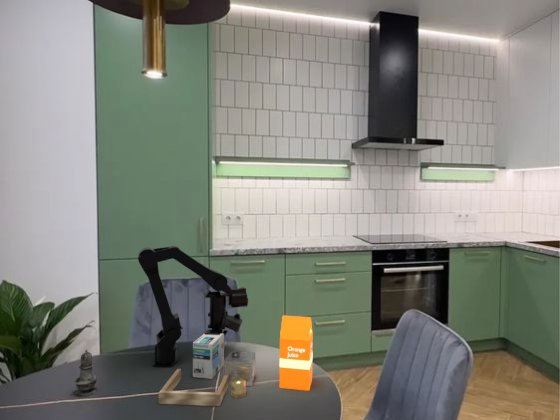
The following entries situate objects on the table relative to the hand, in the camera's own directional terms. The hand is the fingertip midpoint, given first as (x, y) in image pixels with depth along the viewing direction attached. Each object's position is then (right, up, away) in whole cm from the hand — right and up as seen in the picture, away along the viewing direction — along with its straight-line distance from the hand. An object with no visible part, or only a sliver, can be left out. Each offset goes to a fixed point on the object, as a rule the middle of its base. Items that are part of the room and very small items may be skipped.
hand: (217, 353), depth 133 cm
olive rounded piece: (+10, -1, -27) cm, 29 cm away
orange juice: (+27, -2, -20) cm, 33 cm away
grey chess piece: (-33, -1, -26) cm, 42 cm away
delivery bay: (-2, -1, -25) cm, 25 cm away
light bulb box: (-1, -1, -12) cm, 12 cm away
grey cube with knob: (+10, -1, -18) cm, 20 cm away
